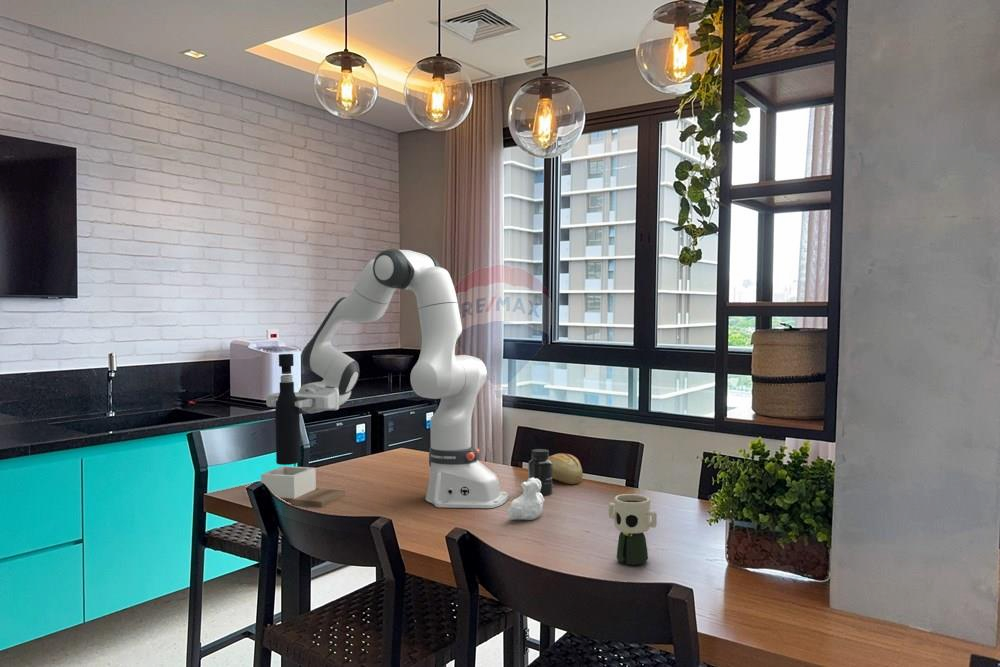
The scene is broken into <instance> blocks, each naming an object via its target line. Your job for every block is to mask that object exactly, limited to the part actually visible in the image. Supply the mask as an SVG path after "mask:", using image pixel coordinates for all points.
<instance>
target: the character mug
mask: <svg viewBox="0 0 1000 667" xmlns="http://www.w3.org/2000/svg"><path fill="white" fill-rule="evenodd" d="M657 516H658V514H657V512H656V511H654V510H651V501H650V497H648V496H646V495H642V494H638V493H637V494H636V493H623V494H617V495H615V497H614V502H608V518H610V519H612V520H613V523H614V527H615V529H616V530H618V532H619V535H618V542H617V549H616V560H617V561H618V562H620V563H623V561H624V560H625V561H626V564H627V565H641V564H643V563H645V562H647V561H648V560H649V552H648V545H647V539H646V536H645V532H647V531H649V530H650V528H653V529H654V528H656V527H657V524H658V523H657V520H658V519H657ZM623 559H624V560H623Z"/></svg>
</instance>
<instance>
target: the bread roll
mask: <svg viewBox="0 0 1000 667" xmlns="http://www.w3.org/2000/svg"><path fill="white" fill-rule="evenodd" d="M548 459H549V460H551V462H552V480H556V481H559V482H561V483H565V484H568V485H577V484H579V483H580V482H581V481H582V480H583V476H584V474H583V468H582V465H581V463H580V460H579V459H578V458H577V457H576V456H574V455H572V454H570V453H562V452H560V453H555V454H552V455H549V457H548Z"/></svg>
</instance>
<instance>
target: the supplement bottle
mask: <svg viewBox="0 0 1000 667" xmlns="http://www.w3.org/2000/svg"><path fill="white" fill-rule="evenodd" d="M549 456H550V451H549V449H545V448H544V449H543V448H536V449H532V450H531V456H530V457H531V458H532V459H530V460H529V461H528V465H527V466H528V467H527V468H528V469H527V475H528V476H527V478H528V479H529V478H532V477H533V478H535V479H536V478H537V479H539V480H540V481H541V490H540V492H539V493H541V494H542V496H549V495H552V493H553V486H554V484H553V479H552V462H551V460H549V459H548V457H549ZM528 479H527V480H528Z"/></svg>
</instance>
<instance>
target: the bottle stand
mask: <svg viewBox="0 0 1000 667" xmlns="http://www.w3.org/2000/svg"><path fill="white" fill-rule="evenodd" d="M316 476H317V473H316V467H309V466H308V467H305V466H290V465H282V466H280V467H277V468H273V469H272V470H268V471H266V472H263V473H260V483H261V482H264V484H265V485H266V486H267V487H268V488H269V489H270V490H271V491H272V492H273V493H274V494H275V495H277V496H278V497H280V498H281V499H283V500H285V501H286V502H289V503H291V504H294V505H293V506H301V507H311V508H323V506H324V507H326V506H328V505H329V503H330V504H332V503H333V501H334V502H336V501H337V499H338V500H339V498H340V499H341V497H342V498H343V496H344V497H346V490H344V489H343V490H342V489H333V488H332V489H329V488H318V487H317V488H316V486H317V483H316V482H317V481H316V480H317V478H316ZM335 500H336V501H335ZM331 502H332V503H331ZM327 504H328V505H327ZM325 505H326V506H325Z"/></svg>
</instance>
